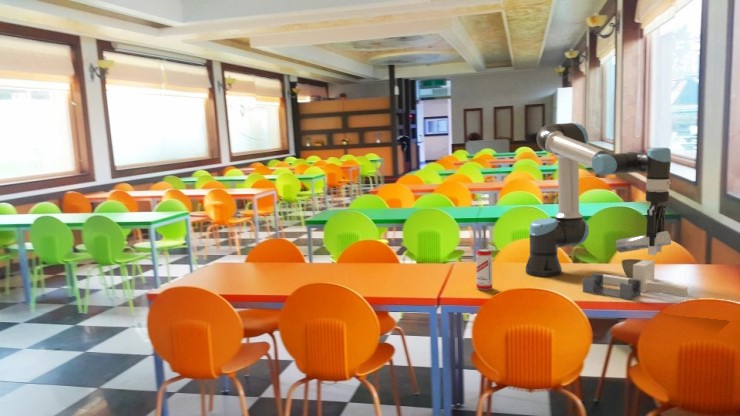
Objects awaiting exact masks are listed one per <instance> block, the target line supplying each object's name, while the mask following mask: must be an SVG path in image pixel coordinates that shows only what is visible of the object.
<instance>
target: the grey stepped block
mask: <svg viewBox="0 0 740 416" xmlns="http://www.w3.org/2000/svg"><path fill="white" fill-rule="evenodd" d="M641 260H642V261H640V262H638V263H636V264H634V265H633V279H636V280H641V291H640V293H643V294H644V293H645V291H646V292H647V291H648V292H649V291H650V292H655V293H662V294H668V295H674V296H679V297H680V296H681V297H686V296H688V291H689V290H688V288H689V286H685V285H680V284H679V285H678V284H672V283H671V284H670V283H664V282H657V281H655V269H656V267H655V265H656V262H655V260H650V259H649V260H648V259H641ZM628 279H632V278H627V276H626V277H624V276H619V275H610V274H604V273H603V285H604V284H607V285H610V286H611V285H612V286H617V287H620V283H625V284H628Z"/></svg>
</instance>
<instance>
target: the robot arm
mask: <svg viewBox="0 0 740 416" xmlns="http://www.w3.org/2000/svg"><path fill="white" fill-rule="evenodd" d="M536 143H537V146H538V147H539V148H540V149H541V150H542V151H544V152H547V153H549V154H553V155H554V156H555V157H556V158H557V183H558V184H557V195H558V197H557V198H558V200H557V201H558V209H557V210H558V212H557V213H556V215H554V218H552V217H551V218H550V217H547V218H539V219H536V220H533V221H532V222H530V224H529V231H528V233H529V257H528V260H527V263H526V265H525V273H526V274H527V275H531V276H533V277H547V278H548V277H550V278H551V277H557V276H560V275H561V274H562V273H563V271H562V270H563V269H562V265H561V263H560V260H559V259H560V258H559V257H558V248H564V247H565V248H566V247H575V246H579V245H582V244H584V242H585V241H586V240H587V239H588V237H589V232H590V230H589V225H588V224H587V223H588V222H587V221H586V220H585V219H584V218H583V215H582V214H581V213H580V196H579V195H580V191H579V190H580V188H579V187H580V185H579V183H580V179H579V178H580V175H579V173H580V172H579V167H580V166H579V165H580V164H582V165H584V166H587V167H589V168H592V170H593V172H594V173H595V174H596V175H599V176H609V175H617V174H633V173H635V174H636V173H638V174H639V173H640V174H641V173H643V174H646V180H645V182H646V183H645V184H646V185H645V189H646V191H645V202H649V203H650V206H649V208H647V210H646V214H647V215H646V217H647V219H646V234H645V235H646V237H649V239H648V248H647V254H648V255H649V256H650V255H652V256H657V253H662V250H663V249H662V247H663V246H658V247H657V237H656V234H657V233H658V232H664V231H666V229H665V228H666V227H665V224H666V210H667V206H666V205H664V203H667V202H669V200H670V191H669V190H670V185H671V184H672V182H671V181H670V179H671V176H670V175H671V165H672V164H671V163H672V155H671V153H672V152H671V149H670V148H668V147H649V148H648V149H647V152H640V151H639V152H638V151H637V152H635V151H626V152H619V153H618V152H617V153H611V152H609V151H605V150H603V149H601V148H598V147H596V146H592V145H590V144H588V143H589V135H588V131H587V130H586V128H585V127H584V126H583V125H582V124H580V123H578V122H577V123H573V122H567V123H549V124H546V125H544V126H542V127H541V128H540V129H539V130H538V132H537V134H536Z"/></svg>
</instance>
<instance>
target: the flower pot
mask: <svg viewBox="0 0 740 416" xmlns="http://www.w3.org/2000/svg"><path fill="white" fill-rule="evenodd" d="M642 260H643V259H637V258H627V259H622V260H621V268H622V269H623V271H624V274H625V276H626V278H632V279H633V265H634V264H636V263H638V262H640V261H642Z"/></svg>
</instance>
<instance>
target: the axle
mask: <svg viewBox="0 0 740 416" xmlns="http://www.w3.org/2000/svg"><path fill="white" fill-rule="evenodd" d="M656 237H657V247H658V246H662V247H665V246H670V245H671V243H672V238H671V237H672V236H671V234H670V233H669V231H667V230H665V231H664V232H658V233H657V234H656ZM648 239H649V237H646V234H643V235H636V236H631V237H626V238H620V239H617V240H615V247H616V250H617V252H618V253H626V252H632V251H639V250H644V249H648Z"/></svg>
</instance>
